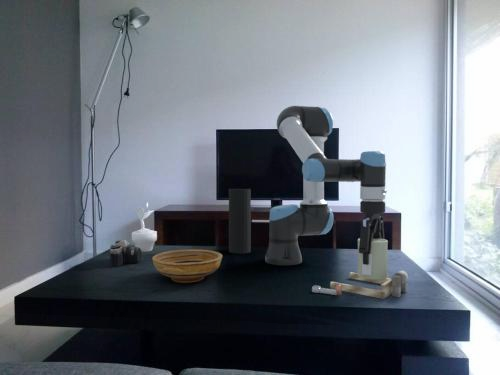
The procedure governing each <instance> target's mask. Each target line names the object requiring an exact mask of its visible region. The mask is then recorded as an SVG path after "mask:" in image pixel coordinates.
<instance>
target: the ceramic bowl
mask: <svg viewBox="0 0 500 375" xmlns="http://www.w3.org/2000/svg"><path fill="white" fill-rule="evenodd" d="M222 259H223V254H222V253H220V252H218V251H214V250H209V249H178V250H169V251H164V252H160V253H157V254H155V255H154V256H152V258H151V260H152V261H153V262H152V263H153V265H154V268H155V270H156V271H157V272H158V273H160V274H161V275H163V276H165V277H167V278H170V279H171V280H172V281H173V282H175V283H183V284H184V283H195V282H200V281H202V280H204V278H205V277H206V276H209V275H211V274H212V273H214V272H216V270H218V269H219V267H220V265H221V262H222Z"/></svg>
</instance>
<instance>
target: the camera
mask: <svg viewBox="0 0 500 375" xmlns="http://www.w3.org/2000/svg"><path fill="white" fill-rule="evenodd" d="M109 252H110V253H109V266H110V268H114V269H115V268H119V267H121V266H123V265H127V264H139V263H141V260H142V252H141V249H140V248H138V247H135V246H130V243H129V241H127V239H124V240H123V239H117V240H115V243H114V244H112V245H110V250H109Z"/></svg>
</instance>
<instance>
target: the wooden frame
mask: <svg viewBox="0 0 500 375" xmlns="http://www.w3.org/2000/svg"><path fill="white" fill-rule="evenodd" d="M357 274H358V272H352V271H351V272H349V279H351V280H357V281H362V282H369V283H373V284H379V285H380V289H374V288H370V287H369V288H367V287H363V286H360V285H359V286H357V285H353V284H347V283H341V282H337V281H330V282H329V283H330V284H329V286H330V288H329V289H334V290H336V284H341V285H342V292H345V293H352V294H357V295H362V296H367V297H372V298H377V299H381V300H385V299H386V298H388V297H389V296H391V295H392V297H395V298H400V297H401V293H407V291H408V290H407V287H408V283H407V282H408V280H409V274H408V272H407V271H405V270H398V271H397V272H395V273H393V274H392V275H391V277H390V278H389V277H388V278H387V279H383V280H371V279H364V278H361V277H359V276H358V275H357Z"/></svg>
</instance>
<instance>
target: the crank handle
mask: <svg viewBox="0 0 500 375" xmlns="http://www.w3.org/2000/svg"><path fill="white" fill-rule="evenodd" d="M311 292H312V293H318V294H328V295H332V296H333V295H335V296H342V295H343V294H342V292H343V291H342V285H341V284H336V289H331V288H325V287H321V285H316V284H315V285H313V286H312V287H311Z"/></svg>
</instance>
